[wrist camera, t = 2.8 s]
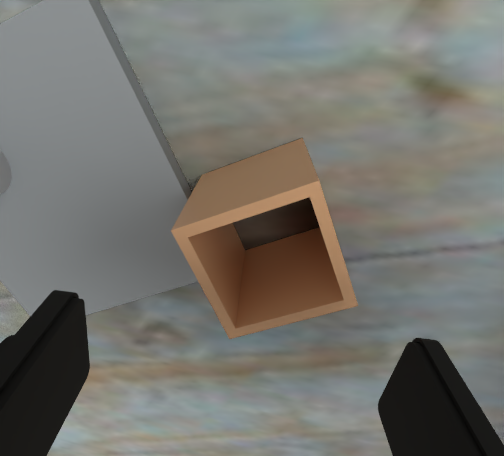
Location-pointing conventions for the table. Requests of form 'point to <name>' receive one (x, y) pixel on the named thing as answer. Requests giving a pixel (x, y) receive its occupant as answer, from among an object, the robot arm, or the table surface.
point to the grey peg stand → (82, 166)
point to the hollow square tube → (268, 255)
